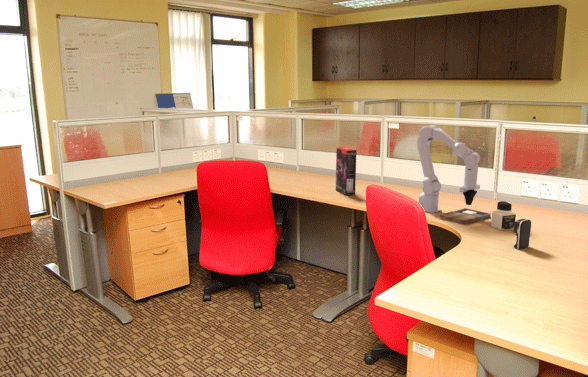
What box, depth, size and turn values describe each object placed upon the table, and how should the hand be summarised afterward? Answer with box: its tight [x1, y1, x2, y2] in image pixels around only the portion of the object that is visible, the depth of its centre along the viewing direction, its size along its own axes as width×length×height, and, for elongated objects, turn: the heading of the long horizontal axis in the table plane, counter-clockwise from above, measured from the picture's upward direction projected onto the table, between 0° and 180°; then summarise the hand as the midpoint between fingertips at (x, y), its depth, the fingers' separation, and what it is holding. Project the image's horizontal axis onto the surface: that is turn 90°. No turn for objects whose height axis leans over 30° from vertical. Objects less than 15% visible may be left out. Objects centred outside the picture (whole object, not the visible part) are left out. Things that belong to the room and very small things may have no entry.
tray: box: [453, 207, 492, 222], centre depth 232 cm, size 14×11×2 cm
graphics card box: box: [335, 146, 357, 196], centre depth 284 cm, size 17×7×27 cm, turn 17°
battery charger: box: [512, 218, 532, 250], centre depth 185 cm, size 7×4×11 cm, turn 124°
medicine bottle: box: [490, 200, 516, 231], centre depth 211 cm, size 7×7×12 cm
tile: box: [462, 210, 477, 217], centre depth 230 cm, size 5×5×2 cm
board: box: [439, 210, 479, 226], centre depth 225 cm, size 14×10×2 cm
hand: (468, 204), depth 229 cm, fingers closed
